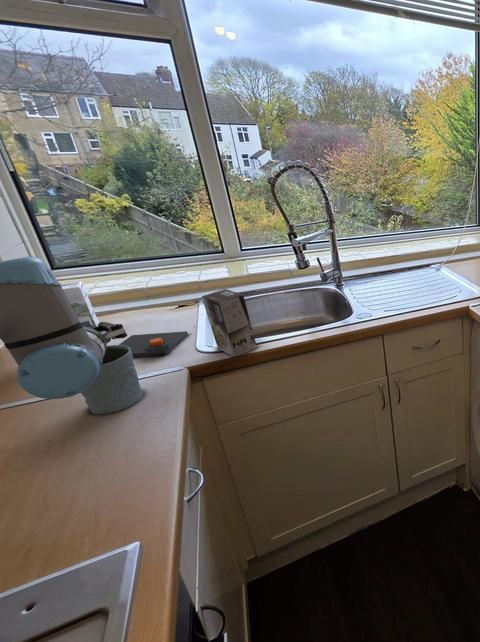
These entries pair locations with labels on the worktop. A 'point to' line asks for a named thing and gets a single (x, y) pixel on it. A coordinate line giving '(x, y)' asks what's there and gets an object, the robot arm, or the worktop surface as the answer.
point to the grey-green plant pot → (114, 382)
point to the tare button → (156, 342)
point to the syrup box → (80, 302)
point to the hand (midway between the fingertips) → (86, 328)
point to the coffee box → (229, 321)
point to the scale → (143, 347)
